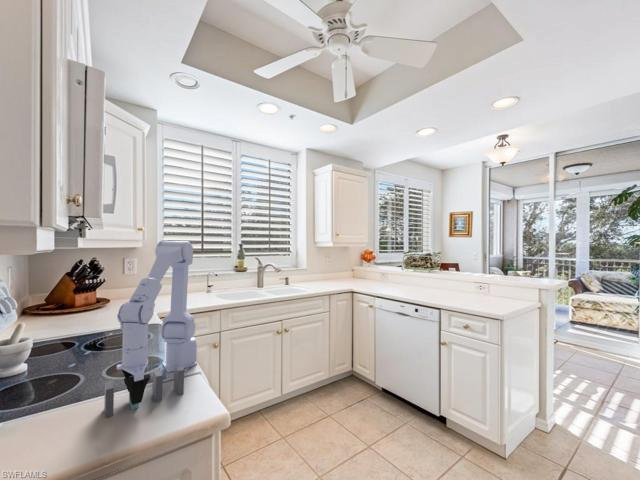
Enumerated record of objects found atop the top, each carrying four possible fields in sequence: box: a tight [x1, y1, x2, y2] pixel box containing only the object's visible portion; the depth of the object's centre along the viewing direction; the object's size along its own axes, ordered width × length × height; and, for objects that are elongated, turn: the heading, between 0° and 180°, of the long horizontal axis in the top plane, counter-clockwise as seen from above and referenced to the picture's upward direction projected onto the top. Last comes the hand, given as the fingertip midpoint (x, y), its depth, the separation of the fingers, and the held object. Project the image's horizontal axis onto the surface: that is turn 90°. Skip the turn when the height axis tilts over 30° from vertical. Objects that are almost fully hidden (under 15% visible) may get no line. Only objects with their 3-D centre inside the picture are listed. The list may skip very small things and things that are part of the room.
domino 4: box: [173, 364, 185, 396], centre depth 83 cm, size 2×4×7 cm, turn 40°
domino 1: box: [103, 380, 115, 418], centre depth 73 cm, size 2×4×7 cm, turn 40°
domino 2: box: [128, 376, 140, 411], centre depth 76 cm, size 2×4×7 cm, turn 40°
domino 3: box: [152, 368, 164, 403], centre depth 80 cm, size 2×4×7 cm, turn 40°
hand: (134, 396), depth 76 cm, fingers open, 7 cm apart
